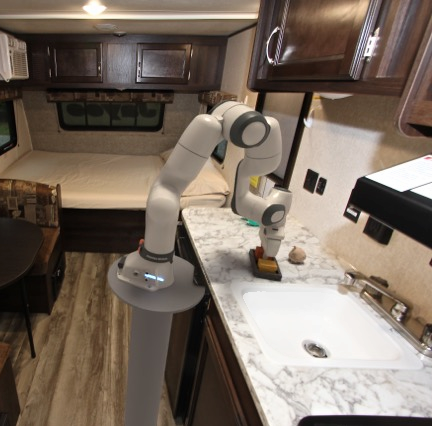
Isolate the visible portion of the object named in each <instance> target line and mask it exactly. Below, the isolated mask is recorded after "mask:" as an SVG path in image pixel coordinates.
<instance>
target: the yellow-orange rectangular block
mask: <svg viewBox="0 0 432 426" xmlns="http://www.w3.org/2000/svg"><path fill="white" fill-rule="evenodd" d="M257 269H258V271H263V272H269V273H276V270H277V265H276V263H275V261H271V260H265V259H259V260H258V264H257Z"/></svg>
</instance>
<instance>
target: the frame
mask: <svg viewBox="0 0 432 426" xmlns="http://www.w3.org/2000/svg"><path fill="white" fill-rule="evenodd" d="M255 249H256V248H249V251H248V256H249V260H250V264H251V269H252V273H253V277H254V278H259V279H264V280H270V281H276V282H282V279H283V274H282V271H281V269H280V266H279V263H278V261H277V258H276V256H275V257H272V261H275V263H276V265H277V270H276V273H269V272H263V271H258V269H257V264H258V259H256V258H255V254H254V253H255Z"/></svg>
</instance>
